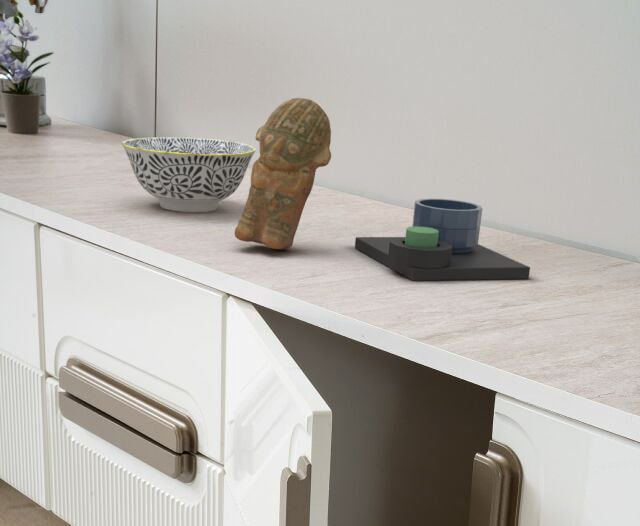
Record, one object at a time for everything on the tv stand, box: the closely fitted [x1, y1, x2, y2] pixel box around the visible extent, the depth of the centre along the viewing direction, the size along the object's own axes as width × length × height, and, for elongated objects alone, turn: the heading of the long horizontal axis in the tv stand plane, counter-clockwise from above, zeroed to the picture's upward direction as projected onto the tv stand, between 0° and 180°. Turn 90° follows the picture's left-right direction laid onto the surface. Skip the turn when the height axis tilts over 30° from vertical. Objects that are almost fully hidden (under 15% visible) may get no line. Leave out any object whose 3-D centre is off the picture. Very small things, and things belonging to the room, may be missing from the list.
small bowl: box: [411, 198, 483, 253], centre depth 119 cm, size 7×7×4 cm
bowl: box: [121, 136, 257, 213], centre depth 136 cm, size 16×16×8 cm
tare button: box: [404, 226, 439, 248], centre depth 111 cm, size 3×3×2 cm
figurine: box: [234, 97, 332, 251], centre depth 116 cm, size 8×8×15 cm
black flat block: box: [354, 236, 531, 282], centre depth 117 cm, size 14×15×3 cm
